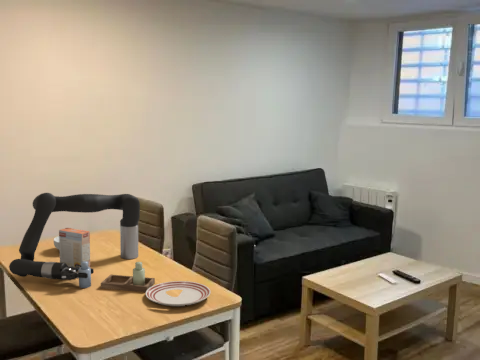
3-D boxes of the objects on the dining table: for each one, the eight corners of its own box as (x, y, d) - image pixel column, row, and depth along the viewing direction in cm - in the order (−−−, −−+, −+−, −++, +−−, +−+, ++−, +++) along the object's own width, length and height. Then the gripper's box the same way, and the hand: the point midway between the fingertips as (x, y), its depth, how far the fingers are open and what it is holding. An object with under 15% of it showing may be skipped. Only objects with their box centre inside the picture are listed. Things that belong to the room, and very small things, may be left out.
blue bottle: (82, 283, 229) (81, 260, 228) (93, 284, 229) (92, 260, 227) (76, 287, 224) (76, 263, 222) (87, 288, 223) (87, 264, 222)
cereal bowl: (63, 244, 286) (62, 232, 285) (91, 246, 284) (91, 234, 283) (47, 254, 270) (47, 241, 268) (77, 256, 267) (77, 243, 266)
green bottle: (135, 284, 229) (135, 260, 227) (146, 285, 228) (146, 261, 226) (131, 288, 224) (131, 264, 222) (142, 289, 223) (142, 265, 221)
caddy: (110, 280, 233) (110, 274, 233) (154, 284, 230) (154, 278, 230) (100, 289, 223) (100, 283, 222) (146, 293, 220) (146, 287, 219)
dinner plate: (139, 290, 223) (139, 283, 223) (198, 283, 234) (198, 276, 233) (154, 316, 198) (154, 308, 198) (219, 306, 209) (220, 298, 209)
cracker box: (91, 273, 243) (90, 230, 239) (82, 277, 237) (81, 233, 234) (68, 268, 248) (67, 226, 245) (59, 272, 243) (58, 229, 240)
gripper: (45, 267, 220) (82, 270, 217) (62, 257, 234) (97, 260, 231) (46, 284, 221) (83, 287, 219) (62, 273, 235) (97, 276, 233)
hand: (90, 273), depth 225 cm, fingers closed on blue bottle, 5 cm apart
